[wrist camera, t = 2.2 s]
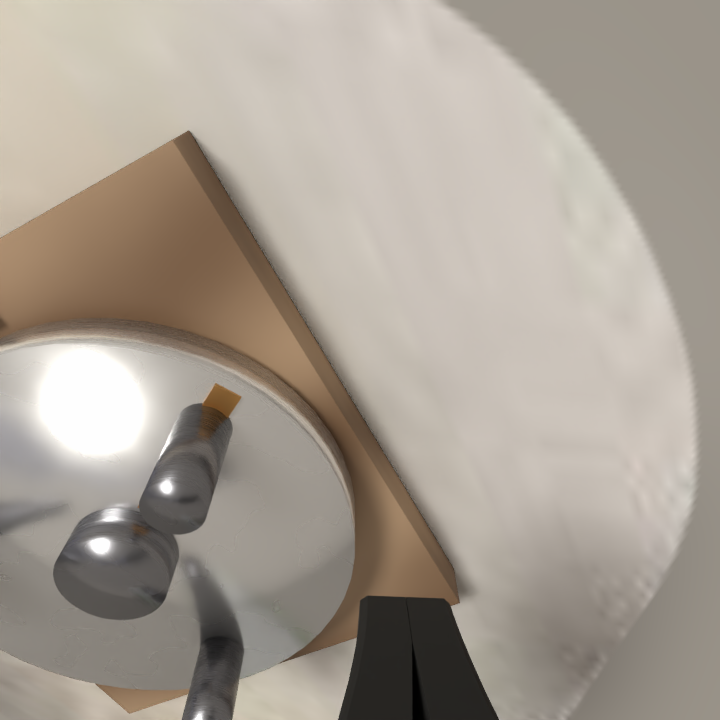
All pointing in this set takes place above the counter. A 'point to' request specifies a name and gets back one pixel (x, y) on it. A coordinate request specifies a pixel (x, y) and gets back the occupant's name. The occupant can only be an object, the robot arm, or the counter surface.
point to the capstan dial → (163, 511)
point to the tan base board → (223, 325)
